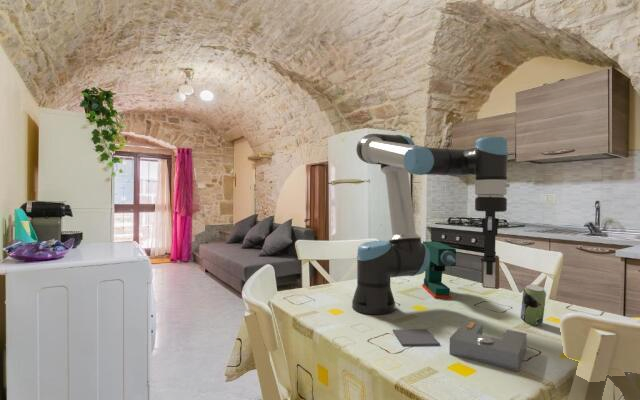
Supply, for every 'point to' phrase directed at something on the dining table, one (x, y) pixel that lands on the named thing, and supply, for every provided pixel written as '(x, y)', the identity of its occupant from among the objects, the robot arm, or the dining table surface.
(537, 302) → the beverage can
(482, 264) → the wooden block
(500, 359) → the peg insertion board
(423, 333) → the mat
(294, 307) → the dining table surface
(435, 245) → the power tool
